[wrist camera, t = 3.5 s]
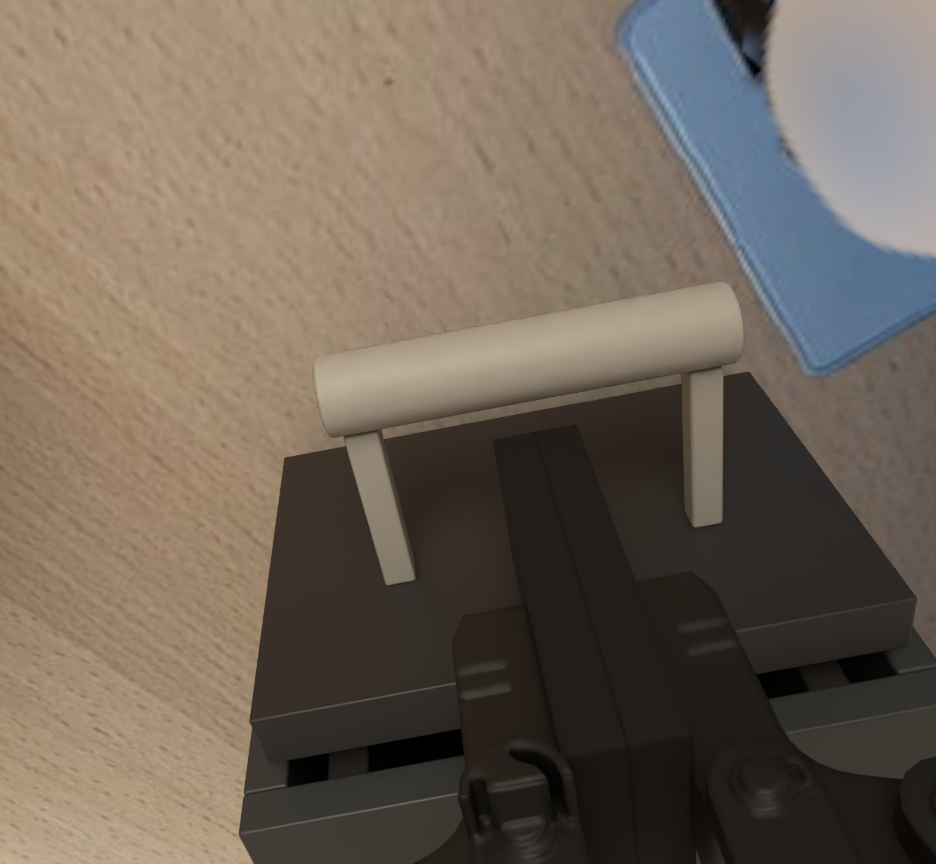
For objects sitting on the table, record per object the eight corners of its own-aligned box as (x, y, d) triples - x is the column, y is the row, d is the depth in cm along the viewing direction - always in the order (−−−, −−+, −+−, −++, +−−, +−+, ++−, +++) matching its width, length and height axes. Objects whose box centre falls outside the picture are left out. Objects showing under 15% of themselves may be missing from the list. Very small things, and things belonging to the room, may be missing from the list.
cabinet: (281, 494, 23) (237, 835, 15) (758, 405, 23) (968, 701, 15) (394, 817, 31) (404, 1150, 23) (747, 752, 31) (879, 1064, 23)
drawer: (220, 269, 19) (143, 494, 12) (754, 170, 19) (965, 342, 12) (395, 789, 29) (404, 1062, 22) (740, 726, 29) (850, 981, 22)
